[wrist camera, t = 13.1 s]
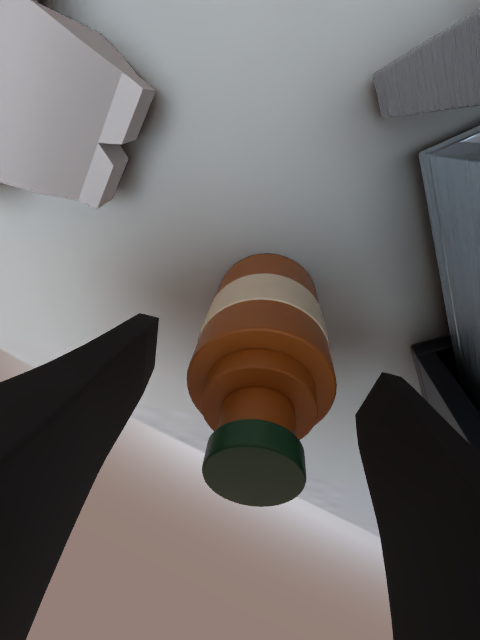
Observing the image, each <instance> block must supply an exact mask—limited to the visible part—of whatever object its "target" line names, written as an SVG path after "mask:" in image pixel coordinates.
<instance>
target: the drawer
mask: <svg viewBox="0 0 480 640" xmlns="http://www.w3.org/2000/svg"><path fill="white" fill-rule="evenodd" d="M373 79H374V84H375V89H376V93H377V98H378V103H379V107H380V112H381V116H382V118H387V117H395V116H403V115H411V114H419V113H426V112H434V111H442V110H450V109H457V108H465V107H473V106H480V9H478V10H477V11H475V12H473V13H472V14H470V15H469V16H467V17H465V18H464V19H462V20H460V21H459V22H457V23H455V24H454V25H452V26H451V27H449V28H447V29H446V30H444V31H442V32H441V33H439V34H437V35H436V36H434V37H433V38H431V39H429V40H428V41H426V42H424V43H423V44H421V45H419V46H418V47H416V48H415V49H413V50H411V51H410V52H408V53H406V54H405V55H403V56H401V57H400V58H398V59H397V60H395V61H393V62H392V63H390V64H388V65H387V66H385V67H383V68H382V69H380V70H379V71H377V72H375V74H374V75H373ZM419 160H420V165H421V171H422V177H423V182H424V188H425V194H426V200H427V205H428V211H429V217H430V222H431V228H432V234H433V239H434V245H435V251H436V257H437V262H438V268H439V274H440V279H441V285H442V291H443V296H444V302H445V308H446V314H447V319H448V325H449V331H450V336H451V342H452V348H453V353H454V359H455V365H456V370H457V376H458V382H459V385H460V386H461V387H462V389H463V390H464V392H465V393H466V394H467V396H468V397H469V399H470V400H471V401H472V403H473V404H474V406H475V407H476V408H477V410H478V411H479V413H480V125H479V126H477V127H475V128H473V129H470V130H468V131H466V132H464V133H462V134H459V135H457V136H455V137H453V138H450V139H448V140H446V141H444V142H442V143H439V144H437V145H435V146H433V147H430V148H428V149H426V150H424V151H422V152H420V153H419Z"/></svg>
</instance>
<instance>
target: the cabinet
mask: <svg viewBox="0 0 480 640" xmlns="http://www.w3.org/2000/svg"><path fill="white" fill-rule="evenodd" d="M411 351H412V355H413V359H414V363H415V367H416V370H417V374H418V378H419V382H420V386H421V390H422V394H423V398H424V399H425V400H426V401H427V402H428V403H429V404H430V405H431V406H432V407H433V408H434V409H435V410H436V411H437V412H438V413H439V414H440V415H441V416H442V417H443V418H444V419H445V420H446V421H447V422H448V423H449V424H450V425H451V426H452V427H453V428H454V429H455V430H456V431H457V432H458V433H459V434H460V435H461V436H462V437H463V438H464V439H465V440H466V441H467V442H468V443H469V444H470V445H471V446H472V447H474V448H475V449H476V450H477V451H478V452H479V453H480V413H479V411H478V410H477V408H476V407H475V406H474V404H473V403H472V401H471V400H470V399H469V397H468V396H467V394H466V393H465V392H464V390H463V389H462V387H461V386H460V385H459V382H458V376H457V370H456V365H455V359H454V353H453V348H452V342H451V336H450V335H448V336H445V337H441V338H437V339H434V340H430V341H426V342H423V343H419V344H415V345H412V346H411Z"/></svg>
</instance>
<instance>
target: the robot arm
mask: <svg viewBox="0 0 480 640" xmlns="http://www.w3.org/2000/svg"><path fill="white" fill-rule="evenodd" d="M158 322H159V318H157V317H153V316H149V315H145V314H141V313H139V314H138V315H136V316H134V317H132V318H130V319H129V320H127V321H125V322H124V323H122V324H120V325H118V326H117V327H115V328H113V329H111V330H110V331H108V332H106V333H105V334H103V335H101V336H99V337H97V338H96V339H94V340H92V341H90V342H88V343H87V344H85V345H83V346H81V347H79V348H77V349H75V350H73V351H71V352H69V353H67V354H65V355H63V356H61V357H59V358H57V359H55V360H53V361H50V362H48V363H46V364H44V365H42V366H39V367H37V368H35V369H32V370H30V371H28V372H25V373H23V374H20V375H18V376H15V377H13V378H10V379H8V380H5V381H3V382H0V640H26V638H27V635H28V633H29V630H30V628H31V626H32V623H33V621H34V618H35V616H36V613H37V611H38V608H39V606H40V603H41V601H42V599H43V596H44V594H45V591H46V589H47V587H48V584H49V582H50V580H51V577H52V575H53V573H54V570H55V568H56V566H57V563H58V561H59V559H60V556H61V554H62V552H63V549H64V547H65V545H66V543H67V540H68V538H69V536H70V533H71V531H72V529H73V527H74V524H75V522H76V520H77V518H78V515H79V513H80V511H81V509H82V507H83V505H84V502H85V500H86V498H87V496H88V494H89V492H90V489H91V487H92V485H93V483H94V481H95V479H96V477H97V474H98V472H99V470H100V469H101V467H102V465H103V463H104V461H105V459H106V457H107V455H108V454H109V452H110V450H111V449H112V447H113V445H114V443H115V442H116V440H117V438H118V437H119V435H120V433H121V431H122V430H123V428H124V426H125V425H126V423H127V421H128V419H129V418H130V416H131V414H132V413H133V411H134V409H135V407H136V406H137V404H138V402H139V400H140V399H141V397H142V395H143V393H144V391H145V388H146V386H147V384H148V381H149V379H150V377H151V374H152V372H153V369H154V367H155V355H156V344H157V333H158ZM355 417H356V429H357V438H358V446H359V450H360V454H361V459H362V463H363V467H364V471H365V475H366V479H367V483H368V487H369V491H370V495H371V499H372V503H373V507H374V511H375V515H376V519H377V524H378V528H379V533H380V538H381V544H382V551H383V557H384V564H385V571H386V578H387V586H388V594H389V602H390V611H391V618H392V629H393V639H394V640H480V453H479V452H478V451H477V450H476V449H475V448H474V447H472V446H471V445H470V444H469V443H468V442H467V441H466V440H465V439H464V438H463V437H462V436H461V435H460V434H459V433H458V432H457V431H456V430H455V429H454V428H453V427H452V426H451V425H450V424H449V423H448V422H447V421H446V420H445V419H444V418H443V417H442V416H441V415H440V414H439V413H438V412H437V411H436V410H435V409H434V408H433V407H432V406H431V405H430V404H429V403H428V402H427V401H426V400H425V399H424V398H423V397H422V396H421V395H420V394H419V393H418V392H417V391H416V390H415V389H414V388H413V387H412V386H411V385H410V384H409V383H407V382H406V381H405V380H404V379H403V378H402V377H400V376H395V375H391V374H387V373H383V372H382V373H381V375H380V377H379V378H378V380H377V381H376V383H375V385H374V386H373V388H372V389H371V391H370V393H369V394H368V396H367V397H366V399H365V401H364V402H363V404H362V405H361V407H360V409H359V410H358V412H357V413H356V415H355Z"/></svg>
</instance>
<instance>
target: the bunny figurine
mask: <svg viewBox="0 0 480 640" xmlns="http://www.w3.org/2000/svg"><path fill="white" fill-rule="evenodd" d="M155 92H156V90H155V89H154V88H153V87H151V86H150V85H149V84H148V83H146V82H145V81H144V80H143V79H141V78H140V77H139V76H138V75H137V74H136V72H135V71H134V70H133V69H132V67H131V66H130V65H129V64H128V63H127V61H126V60H125V59H124V58H123V56H122V55H121V54H120V53H119V52H118V51H117V50H116V49H115V48H114V47H113V46H112V45H111V44H110V43H109V42H108V41H107V40H106V39H105V38H104V37H103V36H102V35H101V34H99V33H97V32H95V31H93V30H91V29H90V28H88V27H86V26H84V25H82V24H80V23H78V22H76V21H74V20H72V19H70V18H68V17H66V16H64V15H62V14H60V13H58V12H56V11H54V10H52V9H50V8H48V7H45V6H43V5H41V4H39V3H38V0H0V183H3V184H6V185H10V186H13V187H17V188H20V189H24V190H27V191H31V192H34V193H38V194H43V195H49V196H56V197H62V198H68V199H74V200H79V201H81V202H83V203H84V204H86V205H88V206H90V207H92V208H94V209H96V210H97V209H99V208H100V207H101V206H103V205H104V204H105V203H107V202H108V201H110V200H111V199H112V198H113V196H114V193H115V191H116V188H117V186H118V183H119V181H120V179H121V176H122V174H123V171H124V169H125V166H126V164H127V161H128V159H129V158H128V157H127V155H126V154H125V152H124V150H123V149H122V147H121V146H120V144H121V145H122V144H125V143H128V142H131V141H133V140H136V139H137V136H138V134H139V131H140V129H141V127H142V124H143V122H144V119H145V117H146V114H147V112H148V109H149V107H150V104H151V102H152V99H153V97H154V94H155Z"/></svg>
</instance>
